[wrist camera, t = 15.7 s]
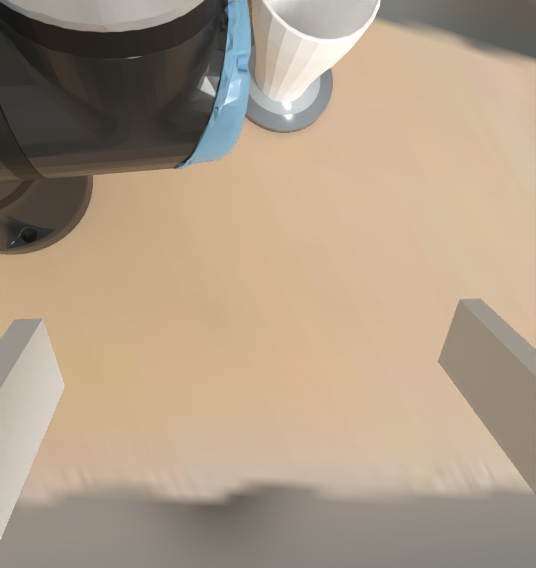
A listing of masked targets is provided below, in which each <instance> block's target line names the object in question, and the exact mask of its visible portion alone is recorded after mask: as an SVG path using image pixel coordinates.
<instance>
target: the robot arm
mask: <svg viewBox="0 0 536 568" xmlns="http://www.w3.org/2000/svg"><path fill="white" fill-rule="evenodd" d="M250 54H251V27H250V16H249V9H248V2H247V0H0V254H24V253H30V252H34V251H38V250H41V249H44V248H46V247H48V246H51V245H53V244H54V243H56V242H58V241H59V240H61V239H62V238H64V237H65V236H66V235H67V234H69V233H70V232H71V231H72V230H73V229H74V228H75V227H76V225H77V224H78V223H79V222H80V220H81V219H82V217H83V216H84V214H85V212H86V210H87V208H88V205H89V202H90V199H91V194H92V187H93V176H92V175H98V174H110V173H122V172H134V171H146V170H158V169H170V168H174V169H181V168H184V167H187V166H188V165H190V164H197V163H203V162H209V161H214V160H218V159H220V158H222V157H224V156H225V155H226V154H228V153H229V152H230V151H231V149H232V148H233V147H234V145H235V143H236V142H237V140H238V138H239V135H240V132H241V130H242V126H243V123H244V119H245V114H246V110H247V104H248V97H249V89H250V72H249V68H248V61H249V57H250ZM438 362H439V363H440V365H441V366H442V368H443V369H444V370H445V372H446V373H447V374H448V376H449V377H450V378H451V380H452V381H453V383H454V384H455V385H456V387H457V388H458V389H459V391H460V392H461V393H462V395H463V396H464V398H465V399H466V400H467V402H468V403H469V404H470V406H471V407H472V408H473V410H474V411H475V413H476V414H477V415H478V417H479V418H480V419H481V421H482V422H483V423H484V425H485V426H486V428H487V429H488V430H489V432H490V433H491V434H492V436H493V437H494V438H495V440H496V441H497V443H498V444H499V445H500V447H501V448H502V449H503V451H504V452H505V453H506V455H507V456H508V458H509V459H510V460H511V462H512V463H513V464H514V466H515V467H516V468H517V470H518V471H519V473H520V474H521V475H522V477H523V478H524V479H525V481H526V482H527V483H528V485H529V486H530V488H531V489H532V490H533V492H534V493H535V494H536V349H535V348H534V347H532V346H531V345H530V344H529V343H528V342H527V341H526V340H525V339H524V338H523V337H522V336H520V335H519V334H518V333H517V332H516V331H515V330H514V329H513V328H512V327H511V326H510V325H509V324H507V323H506V322H505V321H504V320H503V319H502V318H501V317H500V316H499V315H498V314H497V313H495V312H494V311H493V310H492V309H491V308H490V307H489V306H488V305H487V304H486V303H485V302H484V301H482V300H481V299H463V300H459V303H458V306H457V308H456V311H455V314H454V317H453V320H452V323H451V326H450V329H449V331H448V334H447V337H446V340H445V343H444V346H443V349H442V351H441V354H440V357H439V360H438ZM64 387H65V386H64V383H63V380H62V377H61V373H60V370H59V367H58V364H57V361H56V358H55V355H54V352H53V349H52V346H51V343H50V339H49V336H48V333H47V330H46V327H45V324H44V321H43V319H22V320H14V321H13V323H12V324H11V325H10V327H9V328H8V330H7V331H6V332H5V334H4V335H3V337H2V338H1V340H0V539H1V537H2V535H3V532H4V530H5V527H6V525H7V522H8V520H9V518H10V516H11V513H12V511H13V508H14V506H15V504H16V501H17V499H18V497H19V494H20V492H21V489H22V487H23V485H24V482H25V480H26V478H27V475H28V473H29V470H30V468H31V466H32V463H33V461H34V459H35V456H36V454H37V451H38V449H39V447H40V444H41V442H42V440H43V437H44V435H45V432H46V430H47V428H48V425H49V423H50V421H51V418H52V416H53V413H54V411H55V409H56V406H57V404H58V402H59V399H60V397H61V394H62V392H63V390H64Z"/></svg>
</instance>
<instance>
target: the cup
mask: <svg viewBox="0 0 536 568" xmlns="http://www.w3.org/2000/svg"><path fill="white" fill-rule="evenodd" d="M379 6H380V0H252V22H253V31H254V38H255V44H256V66H255V79H256V82H257V85H258V87H259V88H260V90H261V91H262V93H263V94H265V95H266V96H267V97H268V98H270V99H272V100H274V101H277V102H281V103H286V102H291V101H294V100H296V99H297V98H299V97H300V96H301V95H302V94H303V93H304V91H305V90H306V89H307V87H308V86H309V85H310V84H311V83H312V82H313V81H314V80H315V79H316V78H317V77H318V76H320V75H321V74H322V73H324V72H325V71H326V70H328V69H329V68H331V67H332V66H333V65H334V64H335V63H336V62H337V61H338V60H339V59H340V58H341V57H342V56H344V55H345V54H346V53H347V52H348V51H349V50H350V49H351V48H352V46H353V45H354V44H355V43H356V42H357V40H358V39H359V38H360V37H361V35H362V34H363V33H364V32H365V30H366V29H367V28H368V26H369V25H370V24H371V23H372V21H373V20H374V18H375V15H376V13H377V11H378V8H379Z"/></svg>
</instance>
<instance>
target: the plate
mask: <svg viewBox="0 0 536 568" xmlns="http://www.w3.org/2000/svg"><path fill="white" fill-rule="evenodd" d="M255 66H256V44H255V38H254V31H253V29H252V30H251V54H250V57H249V61H248V68H249V72H250V89H249V97H248V104H247V110H246V114H245V116H246V117H247V118H248V119H249V120H250V121H251V122H253V123H254V124H256V125H258V126H260V127H261V128H264V129H266V130H269V131H273V132H280V133H289V132H295V131H299V130H302V129H304V128H306V127H308V126H309V125H311V124H312V123H313V122H314V121H316V120H317V119H318V117H319V116H320V115H321V114H322V112H323V111H324V109H325V107H326V106H327V104H328V102H329V100H330V97H331V93H332V87H333V79H332V72H331V68H329V69H328V70H326V71H325V72H324V73H322V74H321V75H320V76H318V77H317V78H316V79H315V80H314V81H313V82H312V83H311V84H310V85H309V86H308V87H307V89H306V90H305V91H304V93H303V94H302V95H301V96H300V97H299V98H297V99H296V100H294V101H291V102H286V103H281V102H277V101H274V100H272V99H270V98H268V97H267V96H266V95H265V94H263V93H262V91H261V90H260V88H259V87H258V85H257V82H256V79H255Z"/></svg>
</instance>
